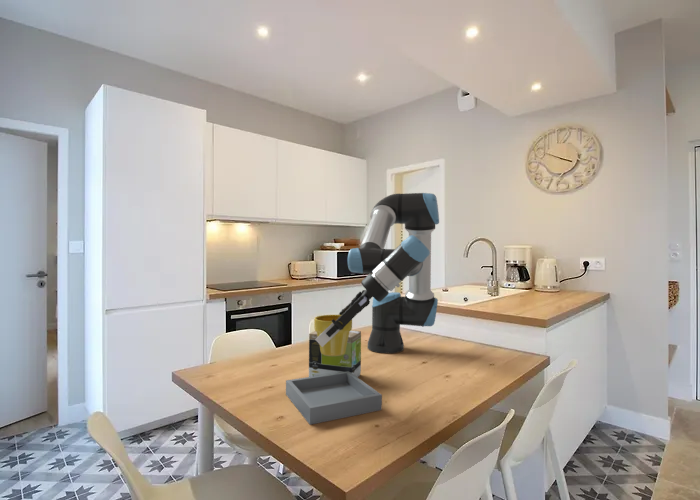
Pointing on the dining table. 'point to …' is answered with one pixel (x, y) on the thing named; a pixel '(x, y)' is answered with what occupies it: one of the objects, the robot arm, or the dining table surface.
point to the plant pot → (339, 341)
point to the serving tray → (332, 397)
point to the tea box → (335, 357)
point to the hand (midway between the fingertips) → (322, 337)
